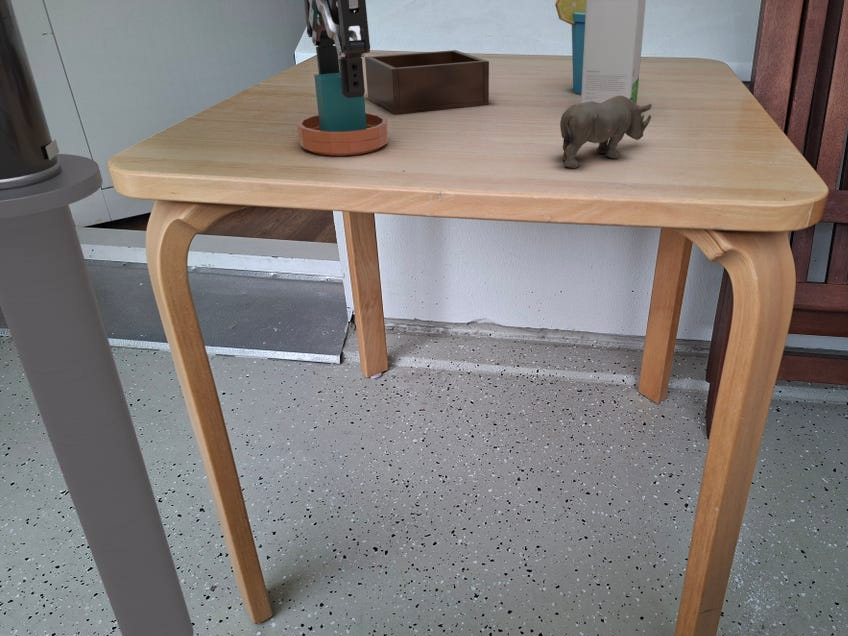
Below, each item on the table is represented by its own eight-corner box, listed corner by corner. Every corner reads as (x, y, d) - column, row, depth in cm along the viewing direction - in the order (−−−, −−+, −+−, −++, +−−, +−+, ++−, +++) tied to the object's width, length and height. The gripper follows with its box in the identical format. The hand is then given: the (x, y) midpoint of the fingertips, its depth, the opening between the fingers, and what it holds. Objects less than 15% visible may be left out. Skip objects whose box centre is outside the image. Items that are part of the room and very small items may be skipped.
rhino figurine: (663, 148, 82) (671, 91, 78) (574, 171, 74) (578, 109, 71) (635, 140, 84) (641, 85, 81) (546, 162, 77) (549, 102, 74)
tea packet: (328, 147, 80) (321, 79, 77) (321, 141, 83) (314, 74, 79) (367, 142, 82) (362, 75, 78) (359, 136, 84) (354, 71, 81)
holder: (394, 114, 95) (391, 69, 93) (367, 98, 104) (364, 56, 101) (488, 104, 100) (489, 61, 98) (456, 90, 109) (455, 50, 106)
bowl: (313, 161, 77) (311, 136, 76) (291, 140, 84) (288, 116, 83) (400, 150, 81) (399, 126, 79) (371, 131, 88) (370, 108, 87)
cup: (617, 82, 114) (627, -28, 106) (650, 90, 108) (663, -25, 101) (541, 90, 108) (546, -25, 101) (572, 100, 103) (579, -21, 95)
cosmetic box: (628, 123, 91) (642, -19, 83) (575, 119, 93) (584, -20, 85) (637, 108, 98) (651, -24, 90) (587, 105, 100) (597, -25, 92)
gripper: (268, -87, 75) (290, 81, 84) (304, -87, 64) (326, 106, 73) (340, -88, 78) (354, 75, 86) (386, -88, 67) (398, 98, 75)
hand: (341, 89), depth 80 cm, fingers open, 8 cm apart
